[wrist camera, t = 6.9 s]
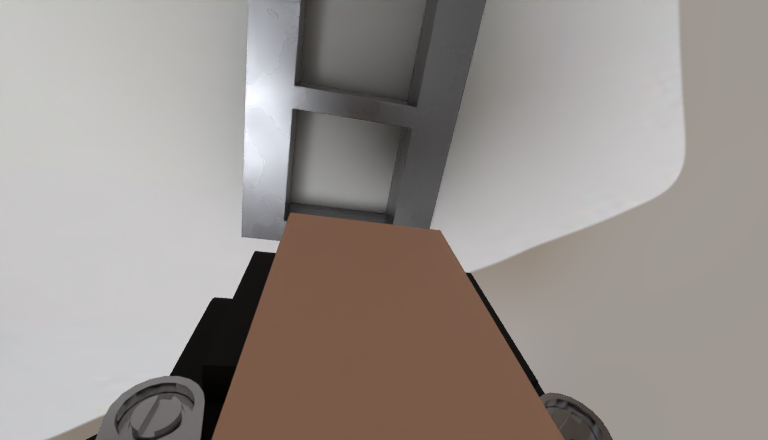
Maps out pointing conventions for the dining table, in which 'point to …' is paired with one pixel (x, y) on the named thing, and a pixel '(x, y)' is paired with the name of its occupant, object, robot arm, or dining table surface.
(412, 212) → the rack
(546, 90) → the dining table surface
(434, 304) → the peg
